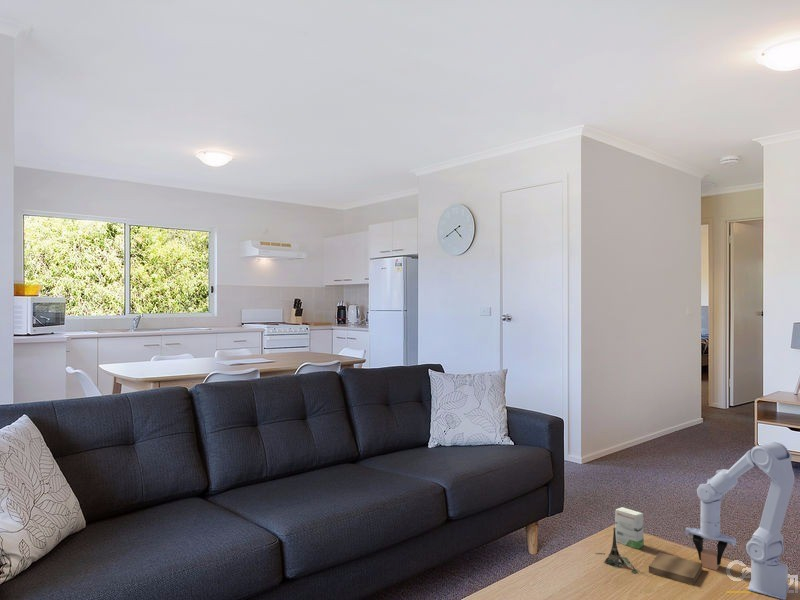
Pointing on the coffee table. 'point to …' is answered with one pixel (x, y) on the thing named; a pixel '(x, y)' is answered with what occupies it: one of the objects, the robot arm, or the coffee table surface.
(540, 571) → the coffee table surface
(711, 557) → the terracotta block
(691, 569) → the walnut base
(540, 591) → the coffee table surface
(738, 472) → the robot arm
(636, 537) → the ink box
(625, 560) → the eiffel tower figurine
